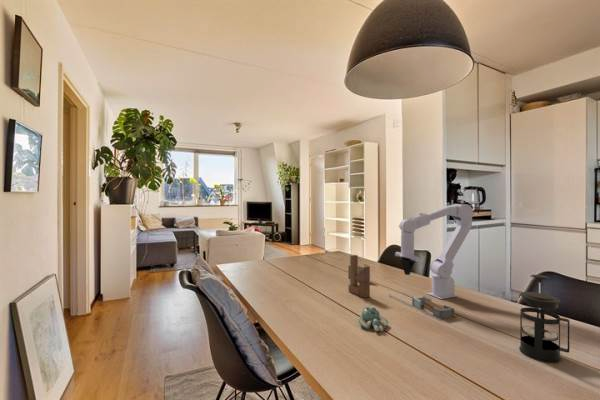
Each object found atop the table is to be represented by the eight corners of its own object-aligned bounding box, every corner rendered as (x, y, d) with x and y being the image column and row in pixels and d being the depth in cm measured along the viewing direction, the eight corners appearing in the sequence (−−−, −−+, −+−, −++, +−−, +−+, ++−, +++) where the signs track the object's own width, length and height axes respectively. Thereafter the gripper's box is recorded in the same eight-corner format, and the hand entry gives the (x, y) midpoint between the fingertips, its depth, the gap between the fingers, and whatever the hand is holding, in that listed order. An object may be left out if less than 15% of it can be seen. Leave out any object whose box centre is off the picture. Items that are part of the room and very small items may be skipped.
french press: (514, 353, 85) (514, 275, 85) (518, 342, 92) (518, 269, 92) (569, 369, 77) (569, 283, 77) (569, 355, 84) (569, 276, 84)
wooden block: (364, 298, 132) (364, 258, 132) (348, 291, 141) (348, 254, 141) (370, 296, 134) (370, 257, 134) (353, 290, 143) (353, 254, 143)
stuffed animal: (365, 319, 96) (354, 300, 108) (363, 338, 98) (353, 317, 110) (395, 318, 98) (381, 299, 109) (394, 336, 99) (380, 316, 111)
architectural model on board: (369, 281, 159) (369, 264, 159) (366, 283, 157) (366, 265, 157) (351, 278, 167) (351, 261, 167) (348, 279, 165) (348, 262, 164)
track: (403, 293, 138) (403, 292, 138) (456, 316, 112) (456, 315, 112) (388, 295, 135) (388, 294, 135) (439, 320, 108) (439, 318, 108)
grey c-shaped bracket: (445, 313, 115) (445, 305, 115) (454, 317, 111) (454, 308, 111) (432, 315, 112) (432, 307, 112) (441, 319, 109) (441, 311, 109)
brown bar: (429, 308, 121) (429, 300, 121) (448, 317, 111) (448, 309, 111) (423, 308, 120) (423, 301, 120) (441, 318, 111) (441, 310, 111)
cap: (424, 303, 125) (424, 296, 125) (431, 306, 121) (431, 299, 121) (412, 305, 123) (412, 298, 123) (419, 308, 119) (419, 301, 119)
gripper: (390, 243, 141) (390, 271, 141) (411, 248, 127) (411, 279, 127) (401, 242, 143) (401, 270, 143) (424, 247, 130) (424, 277, 130)
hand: (407, 274), depth 135 cm, fingers closed
